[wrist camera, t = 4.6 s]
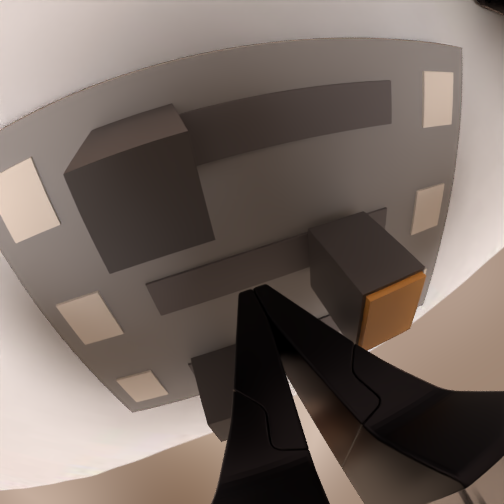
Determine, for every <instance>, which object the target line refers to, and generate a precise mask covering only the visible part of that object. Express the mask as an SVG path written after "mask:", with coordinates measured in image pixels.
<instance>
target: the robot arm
mask: <svg viewBox="0 0 504 504" xmlns="http://www.w3.org/2000/svg"><path fill="white" fill-rule="evenodd" d="M477 1H478V3H479V4H480V5H481V6H482V7H485V8H487V9H490V10H492V11H494V12H497V13H499V14H501V15H504V0H477ZM285 373H286V374H285ZM286 375H287V377H288V379H289V380H290V382H291V384H292V386H293V387H294V389H295V391H296V392H297V394H298V396H299V397H300V399H301V401H302V402H303V404H304V406H305V408H306V409H307V411H308V413H309V414H310V416H311V418H312V419H313V421H314V423H315V424H316V426H317V428H318V429H319V431H320V433H321V434H322V436H323V438H324V439H325V441H326V443H327V444H328V446H329V448H330V449H331V451H332V452H333V454H334V456H335V457H336V459H337V461H338V462H339V464H340V466H341V467H343V468H342V469H343V471H344V472H345V474H346V475H347V477H348V478H349V480H350V482H351V483H352V485H353V487H354V488H355V490H356V491H357V493H358V494H359V496H360V498H361V499H362V501H363V502H364V504H504V391H454V390H447V389H443V388H440V387H437V386H435V385H433V384H431V383H428V382H426V381H424V380H422V379H420V378H418V377H415V376H414V375H411V374H409V373H407V372H405V371H403V370H400V369H399V368H397V367H395V366H393V365H391V364H389V363H387V362H385V361H383V360H382V359H380V358H378V357H377V356H375V355H373V354H372V353H370V352H368V351H367V350H365V349H364V348H362V347H361V346H359V345H358V344H354V342H353V341H351V340H350V339H348V338H347V337H345V336H344V335H342V334H341V333H339V332H338V331H336V330H335V329H333V328H332V327H330V326H329V325H327V324H326V323H324V322H323V321H321V320H320V319H318V318H317V317H315V316H314V315H312V314H311V313H309V312H308V311H306V310H305V309H303V308H302V307H300V306H299V305H297V304H296V303H294V302H293V301H291V300H290V299H288V298H287V297H285V296H284V295H282V294H281V293H279V292H278V291H276V290H275V289H273V288H272V287H270V286H269V285H267V284H263V285H260V286H257V287H255V288H254V289H253V290H252V289H248V290H245V291H243V292H240V293H239V295H238V309H237V326H236V343H235V361H234V380H233V395H232V410H231V421H230V427H229V433H228V439H227V444H226V449H225V453H224V458H223V463H222V468H221V472H220V477H219V481H218V485H217V489H216V492H215V495H214V498H213V501H212V503H211V504H330V503H329V501H328V498H327V496H326V494H325V491H324V489H323V486H322V484H321V481H320V479H319V477H318V474H317V472H316V469H315V466H314V463H313V460H312V457H311V454H310V451H309V450H308V445H307V442H306V438H305V435H304V432H303V429H302V426H301V423H300V419H299V416H298V412H297V409H296V406H295V403H294V399H293V396H292V393H291V390H290V387H289V383H288V380H287V377H286Z"/></svg>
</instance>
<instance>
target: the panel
mask: <svg viewBox="0 0 504 504" xmlns="http://www.w3.org/2000/svg"><path fill="white" fill-rule="evenodd" d="M461 102H462V48H460V47H455V46H450V45H445V44H439V43H431V42H422V41H412V40H400V39H384V38H318V39H301V40H289V41H278V42H269V43H261V44H253V45H247V46H240V47H234V48H228V49H222V50H217V51H212V52H207V53H202V54H197V55H193V56H189V57H184V58H180V59H176V60H172V61H168V62H164V63H161V64H157V65H154V66H150V67H147V68H143V69H140V70H137V71H134V72H130V73H127V74H124V75H121V76H118V77H115V78H113V79H110V80H107V81H104V82H101V83H99V84H96V85H94V86H91V87H88V88H86V89H83V90H81V91H78V92H76V93H74V94H71V95H69V96H67V97H64V98H62V99H60V100H57V101H55V102H53V103H51V104H49V105H47V106H45V107H42V108H40V109H38V110H36V111H34V112H32V113H30V114H28V115H26V116H24V117H23V118H21V119H19V120H17V121H15V122H13V123H11V124H10V125H8V126H6V127H4V128H2V129H1V130H0V250H1V252H2V254H3V255H4V257H5V258H6V260H7V262H8V263H9V265H10V267H11V268H12V270H13V271H14V273H15V274H16V276H17V277H18V279H19V280H20V282H21V283H22V285H23V286H24V288H25V289H26V291H27V292H28V294H29V295H30V296H31V298H32V299H33V301H34V302H35V303H36V305H37V306H38V308H39V309H40V310H41V312H42V313H43V314H44V316H45V317H46V318H47V320H48V321H49V322H50V323H51V325H52V326H53V327H54V329H55V330H56V331H57V332H58V334H59V335H60V336H61V337H62V338H63V340H64V341H65V342H66V343H67V344H68V346H69V347H70V348H71V349H72V350H73V352H74V353H75V354H76V355H77V356H78V357H79V358H80V360H81V361H82V362H83V363H84V364H85V365H86V366H87V367H88V368H89V370H90V371H91V372H92V373H93V374H94V375H95V376H96V377H97V378H98V379H99V380H100V381H101V382H102V383H103V384H104V385H105V386H106V387H107V388H108V389H109V390H110V391H111V392H112V393H113V394H114V395H115V396H116V397H117V398H118V399H119V400H120V401H121V402H122V403H123V404H124V405H125V406H126V407H127V408H128V409H129V410H130V411H131V412H137V411H141V410H145V409H149V408H153V407H157V406H161V405H165V404H169V403H173V402H177V401H180V400H184V399H188V398H191V397H195V396H198V395H200V398H201V402H202V405H203V409H204V413H205V416H206V420H207V424H208V426H209V427H210V428H211V429H212V431H213V432H214V433H215V434H216V436H217V437H218V438H219V439H220V441H221V442H222V441H226V440H227V439H228V433H229V427H230V421H231V410H232V395H233V380H234V361H235V343H236V326H237V309H238V295H239V293H240V292H243V291H245V290H248V289H252V290H253V289H254V288H255V287H257V286H260V285H263V284H267V285H269V286H270V287H272V288H273V289H275V290H276V291H278V292H279V293H281V294H282V295H284V296H285V297H287V298H288V299H290V300H291V301H293V302H294V303H296V304H297V305H299V306H300V307H302V308H303V309H305V310H306V311H308V312H309V313H311V314H312V315H314V316H315V317H317V318H318V319H320V320H321V321H323V322H324V323H326V324H327V325H329V326H330V327H332V328H333V329H335V330H336V331H338V332H339V333H341V331H340V330H339V328H338V327H337V325H336V324H335V322H334V321H333V319H332V318H331V316H330V315H329V313H328V312H327V310H326V309H325V307H324V306H323V304H322V303H321V301H320V300H319V298H318V297H317V295H316V294H315V292H314V291H313V289H312V288H311V285H310V260H309V240H308V228H311V227H315V226H318V225H321V224H324V223H327V222H330V221H334V220H337V219H340V218H343V217H346V216H350V215H353V214H356V213H359V212H362V211H364V212H365V213H367V214H368V215H369V216H370V217H371V218H372V219H373V220H375V221H376V222H377V223H378V224H379V225H380V226H381V227H383V228H384V229H385V230H386V231H387V232H388V233H389V234H390V235H392V236H393V237H394V238H395V239H396V240H397V241H398V242H399V243H400V244H401V245H402V246H404V247H405V248H406V249H407V250H408V251H409V252H410V253H411V254H412V255H413V256H414V257H415V258H416V259H417V260H418V261H419V262H421V263H422V264H423V265H424V266H425V269H424V274H425V275H426V279H425V282H424V286H423V289H422V293H421V296H420V299H419V303H418V306H417V307H419V306H420V305H422V304H423V303H424V300H425V297H426V294H427V290H428V287H429V284H430V280H431V277H432V274H433V270H434V266H435V263H436V259H437V255H438V251H439V247H440V243H441V239H442V235H443V231H444V226H445V222H446V217H447V212H448V207H449V202H450V196H451V191H452V185H453V179H454V172H455V165H456V158H457V149H458V140H459V130H460V118H461ZM341 334H342V333H341ZM342 335H343V334H342Z"/></svg>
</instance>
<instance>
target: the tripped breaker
mask: <svg viewBox="0 0 504 504" xmlns="http://www.w3.org/2000/svg"><path fill="white" fill-rule="evenodd" d="M308 240H309V260H310V285H311V288H312V289H313V291H314V292H315V294H316V295H317V297H318V298H319V300H320V301H321V303H322V304H323V306H324V307H325V309H326V310H327V312H328V313H329V315H330V316H331V318H332V319H333V321H334V322H335V324H336V325H337V327H338V328H339V330H340V331H341V333H342V334H343V335H344V336H345V337H347V338H348V339H350V340H351V341H353V342H354V344H358V345H359V346H361V347H362V348H364V349H365V350H369V349H371V348H373V347H375V346H377V345H379V344H381V343H383V342H385V341H387V340H389V339H391V338H393V337H395V336H397V335H399V334H401V333H403V332H405V331H407V330H408V329H410V327H411V324H412V321H413V318H414V315H415V312H416V309H417V306H418V303H419V299H420V296H421V293H422V289H423V286H424V282H425V279H426V275H425V274H424V269H425V266H424V265H423V264H422V263H421V262H419V261H418V260H417V259H416V258H415V257H414V256H413V255H412V254H411V253H410V252H409V251H408V250H407V249H406V248H405V247H404V246H402V245H401V244H400V243H399V242H398V241H397V240H396V239H395V238H394V237H393V236H392V235H390V234H389V233H388V232H387V231H386V230H385V229H384V228H383V227H381V226H380V225H379V224H378V223H377V222H376V221H375V220H373V219H372V218H371V217H370V216H369V215H368V214H367V213H365V212H364V211H362V212H359V213H356V214H353V215H350V216H346V217H343V218H340V219H337V220H334V221H330V222H327V223H324V224H321V225H318V226H315V227H311V228H308Z"/></svg>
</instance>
